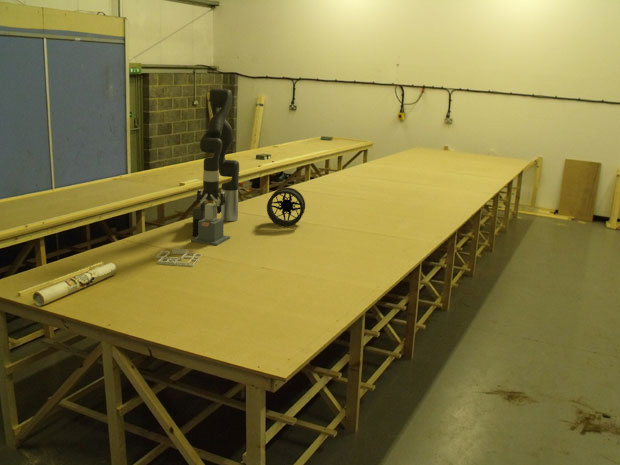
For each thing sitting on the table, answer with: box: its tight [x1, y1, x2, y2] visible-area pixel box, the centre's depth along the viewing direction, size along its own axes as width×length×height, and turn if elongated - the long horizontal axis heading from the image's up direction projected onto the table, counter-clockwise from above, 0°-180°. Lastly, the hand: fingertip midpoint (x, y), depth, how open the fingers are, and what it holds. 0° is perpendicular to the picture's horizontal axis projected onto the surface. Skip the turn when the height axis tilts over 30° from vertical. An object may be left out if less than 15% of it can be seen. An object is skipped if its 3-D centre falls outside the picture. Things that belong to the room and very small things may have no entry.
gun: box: [191, 207, 205, 236], centre depth 319 cm, size 7×29×15 cm, turn 9°
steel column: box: [205, 202, 218, 222], centre depth 299 cm, size 4×4×16 cm
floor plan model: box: [155, 247, 203, 267], centre depth 273 cm, size 19×25×2 cm
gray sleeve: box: [190, 218, 231, 246], centre depth 301 cm, size 14×14×10 cm
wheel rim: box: [266, 186, 306, 228], centre depth 333 cm, size 20×9×20 cm, turn 84°
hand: (210, 212), depth 298 cm, fingers open, 8 cm apart
